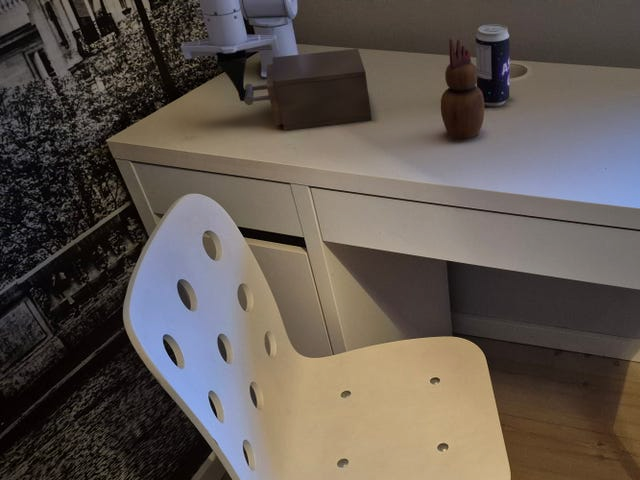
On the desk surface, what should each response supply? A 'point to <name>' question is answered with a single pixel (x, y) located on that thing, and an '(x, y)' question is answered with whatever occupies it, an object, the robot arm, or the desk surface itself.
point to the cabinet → (321, 89)
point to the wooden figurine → (462, 96)
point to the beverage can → (493, 63)
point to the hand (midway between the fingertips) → (244, 98)
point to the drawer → (272, 95)
